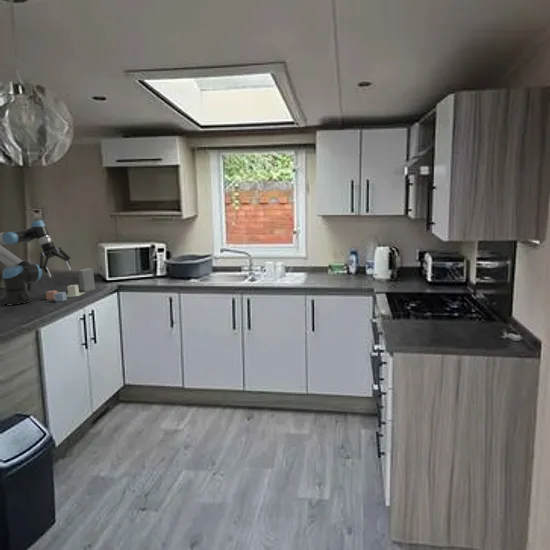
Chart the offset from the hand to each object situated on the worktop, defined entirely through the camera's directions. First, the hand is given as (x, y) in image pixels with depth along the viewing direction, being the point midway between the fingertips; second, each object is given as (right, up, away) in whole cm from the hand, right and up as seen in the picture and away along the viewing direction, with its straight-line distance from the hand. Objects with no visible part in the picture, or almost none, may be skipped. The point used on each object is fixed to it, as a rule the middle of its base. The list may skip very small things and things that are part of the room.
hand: (60, 273), depth 315 cm
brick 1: (-4, -17, -3) cm, 18 cm away
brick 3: (+7, -14, +5) cm, 16 cm away
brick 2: (+5, -18, -10) cm, 21 cm away
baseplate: (+7, -15, +6) cm, 17 cm away
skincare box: (+11, -13, +18) cm, 25 cm away
